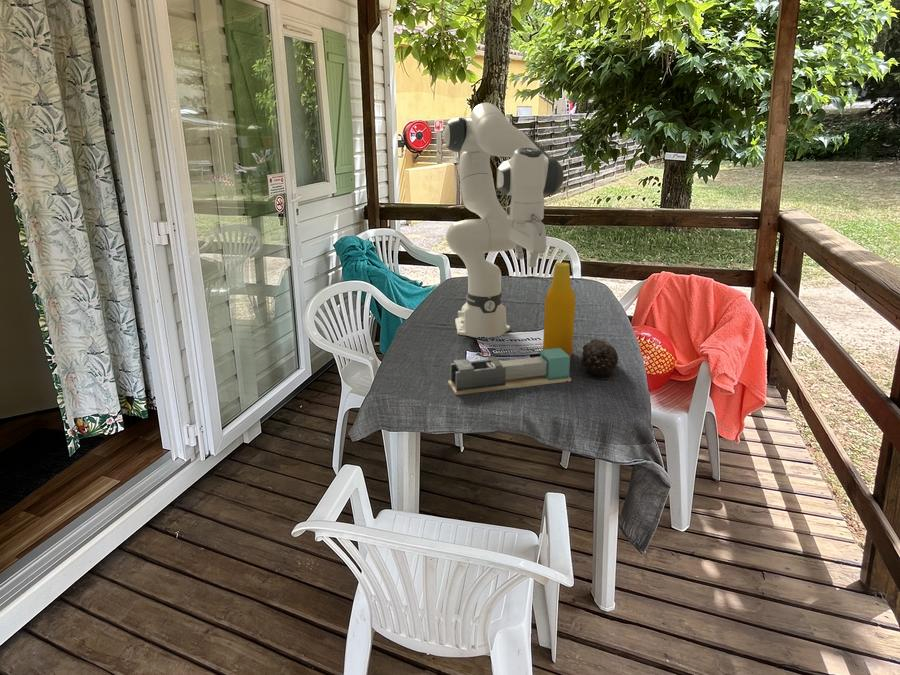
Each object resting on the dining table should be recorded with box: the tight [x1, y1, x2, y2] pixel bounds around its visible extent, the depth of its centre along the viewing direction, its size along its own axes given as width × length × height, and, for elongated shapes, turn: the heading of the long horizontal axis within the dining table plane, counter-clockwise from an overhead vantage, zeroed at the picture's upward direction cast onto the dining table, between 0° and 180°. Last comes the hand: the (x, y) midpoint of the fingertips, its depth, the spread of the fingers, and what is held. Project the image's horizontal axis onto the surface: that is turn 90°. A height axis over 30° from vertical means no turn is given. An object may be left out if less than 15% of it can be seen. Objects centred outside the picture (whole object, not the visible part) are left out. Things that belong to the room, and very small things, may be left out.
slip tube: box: [486, 356, 549, 380], centre depth 178 cm, size 4×20×4 cm, turn 104°
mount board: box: [447, 375, 572, 396], centre depth 179 cm, size 8×34×1 cm, turn 104°
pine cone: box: [581, 338, 619, 380], centre depth 186 cm, size 10×18×10 cm, turn 178°
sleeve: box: [449, 355, 506, 391], centre depth 176 cm, size 7×14×6 cm, turn 104°
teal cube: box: [539, 348, 571, 380], centre depth 181 cm, size 7×6×7 cm
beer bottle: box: [542, 262, 576, 357], centre depth 193 cm, size 9×9×29 cm
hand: (525, 262), depth 173 cm, fingers open, 8 cm apart
